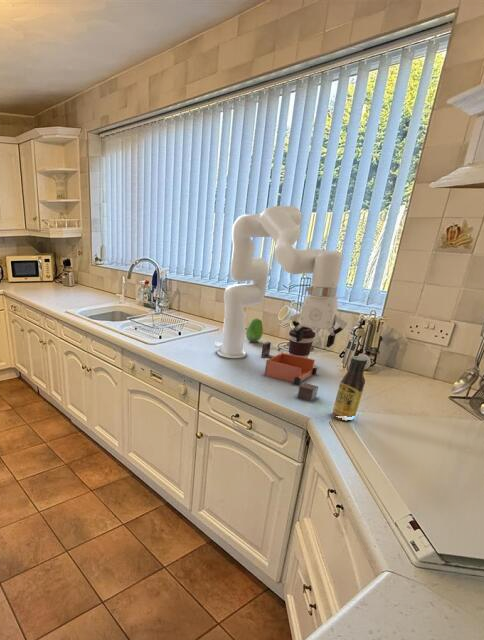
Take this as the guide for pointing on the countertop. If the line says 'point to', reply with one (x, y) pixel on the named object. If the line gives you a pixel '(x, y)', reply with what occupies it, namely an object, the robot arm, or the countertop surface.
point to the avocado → (254, 330)
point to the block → (307, 392)
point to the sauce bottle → (350, 389)
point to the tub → (286, 365)
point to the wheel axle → (298, 380)
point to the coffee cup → (301, 343)
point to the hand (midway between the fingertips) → (313, 343)
